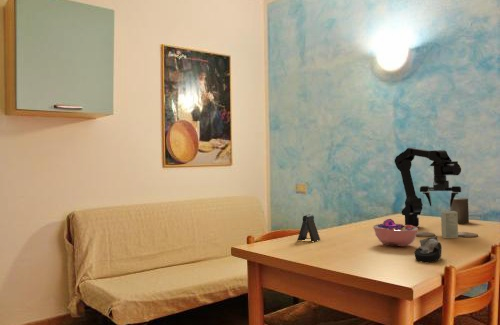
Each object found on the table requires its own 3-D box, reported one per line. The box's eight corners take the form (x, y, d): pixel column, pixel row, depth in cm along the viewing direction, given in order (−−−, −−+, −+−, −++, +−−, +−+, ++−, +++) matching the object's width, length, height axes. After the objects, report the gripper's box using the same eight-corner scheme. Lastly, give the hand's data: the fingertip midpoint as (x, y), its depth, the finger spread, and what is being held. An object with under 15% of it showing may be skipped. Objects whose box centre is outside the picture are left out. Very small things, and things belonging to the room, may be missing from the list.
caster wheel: (423, 270, 156) (410, 259, 166) (453, 262, 156) (438, 251, 166) (420, 252, 154) (407, 242, 165) (451, 244, 155) (436, 235, 165)
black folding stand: (320, 240, 202) (319, 214, 202) (314, 242, 198) (314, 216, 197) (303, 238, 208) (302, 213, 207) (297, 240, 203) (296, 215, 203)
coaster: (409, 236, 207) (409, 234, 207) (412, 232, 216) (412, 231, 216) (433, 237, 201) (433, 236, 201) (436, 233, 211) (436, 232, 211)
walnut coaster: (451, 236, 203) (451, 235, 203) (453, 232, 213) (453, 231, 213) (477, 238, 198) (477, 236, 198) (478, 234, 207) (478, 232, 207)
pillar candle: (472, 223, 238) (471, 196, 238) (454, 224, 238) (453, 197, 238) (463, 221, 248) (463, 195, 248) (446, 221, 248) (446, 195, 248)
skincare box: (454, 236, 203) (454, 210, 203) (458, 238, 199) (458, 212, 198) (441, 236, 204) (440, 211, 203) (444, 238, 199) (443, 212, 199)
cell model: (399, 252, 173) (398, 224, 173) (364, 244, 191) (364, 218, 191) (428, 247, 181) (428, 220, 181) (392, 239, 199) (392, 215, 199)
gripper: (418, 175, 213) (418, 207, 213) (459, 175, 204) (460, 208, 204) (420, 175, 223) (421, 205, 223) (460, 174, 214) (461, 206, 214)
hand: (440, 206), depth 215 cm, fingers open, 9 cm apart
